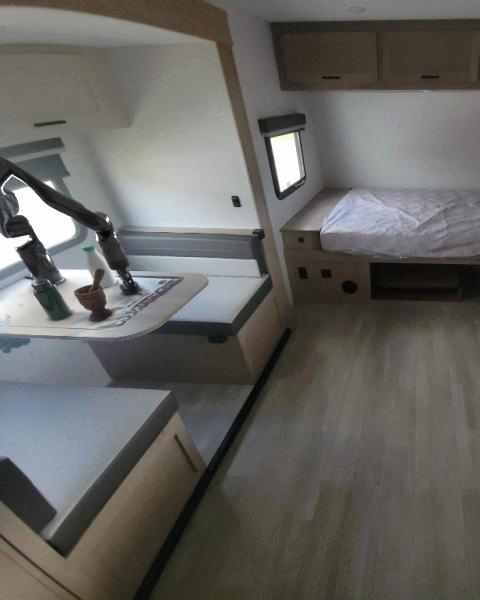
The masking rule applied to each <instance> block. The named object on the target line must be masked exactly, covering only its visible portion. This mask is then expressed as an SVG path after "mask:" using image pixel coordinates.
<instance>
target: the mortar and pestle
mask: <svg viewBox="0 0 480 600" xmlns="http://www.w3.org/2000/svg"><path fill="white" fill-rule="evenodd" d="M104 273H105V270H104V269H100V268H97V269H96V271H95V274H94V279H92V280H93V282H92V284H87V285H83V286H81V287H78V288H76V289H74V291H73V294H74V295H75V297H76V299H77V301H78V302H79V304H80V305H81V306H82V308H84V309H85V310H86V311H87V310H88V311H90V312H91V313H90V314H89V319H90V321H95V322H96V321H97V322H98V321H103V320H105V319H107V318H109V317H111V316H112V315H113V311H112V310H111V309H110V308H106V305H107V304H108V301H107V296H106V293H105V291H104V289H103V288H102V286H101V285H100V282H101V280H102V278H103V276H104Z"/></svg>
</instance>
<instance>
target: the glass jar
mask: <svg viewBox="0 0 480 600" xmlns="http://www.w3.org/2000/svg"><path fill="white" fill-rule="evenodd" d="M30 287H31V288H32V289H33V290H32V291H31V293H32V294H33V296H34V298H35V299H36V300H37V302H38V303H39V305H40V307H41V308H42V310H43V311H44V312H45V315H47V317H48V319H49V320H50V321H59V320H63V319H66V318H68V317H70V316H71V315H72V314H73V312H72V310H71V309H70V306H69V305H68V303H67V302H66V300H65V298H64V297H63V296H62V294H61V292H60V290H59V289H58V287H57V285H51V283H50V281H49V280H47V279H43V280H38V281H35V280H34V281H33V282H31V284H30Z"/></svg>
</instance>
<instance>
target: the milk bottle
mask: <svg viewBox="0 0 480 600" xmlns="http://www.w3.org/2000/svg"><path fill="white" fill-rule="evenodd" d="M81 249H82V252H83V253H84V254H85V266H86V268H87V269H88V272H89V274H90V275H91V277H92V280H94V274H95V271H96V269H97V268H100V269H104V270H105V273H104V276H103V278H102V280H101V282H100V285H101V286H102V289H103V288H109V287H112V286H114V285H116V284H117V278H116V275H115V274H114V272H113V270H111V269H110V268H109V266H108V264H107V262H106V260H105V258H104V256H103V255H101V254H100V253H99V252H98V251H97V247H96V245H94V244H86V245H82V246H81Z"/></svg>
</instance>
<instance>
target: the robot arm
mask: <svg viewBox="0 0 480 600" xmlns="http://www.w3.org/2000/svg"><path fill="white" fill-rule="evenodd" d="M11 177H14V178H16V179H17V180H19V181H21V182H22V183H24V184H25V185H26V186H27V187H28V188H29V189H30V190H31V191H32V192H33V193H34V194H35V195H36V196H37V197H38V199H39V200H40V201H41V202H42V203H43V204H45V205H46V206H47V207H49V208H50V209H52V210H54V211H56V212H58V213H60V214H61V215H64V216H66V217H68V218H71V219H72V220H74V221H76V222H77V223H79V224H80V225H82V226H83V227H85V228H87V229H89V230H91V231H93V232H94V233H95V236H96V241H97V244H98V247H99V248H100V250H101V253H102V256H103V257H104V258H105V260H106V262H107V264H108V266H109V268H110V269H111V270H112V271H115V272H116V274H117V276H118V278H119V279H120V281H121V282H122V284H124V283H126V284H127V286H128V287H129V290H130V292H131V293H133V292H136V291H137V290H136V288H135V286H134V284H135V283H134V281H135V280H134V278H133V276H132V274H131V272H130V271H129V269H127V268H129V267H130V266H131V263H130V261H129V258H128V256H127V254H126V251H125V250H124V248H123V247H122V245H121V242H120V240H119V238H118V237H117V234H116V230H115V228H114V225H113V222H112V220H111V218H110V217H109V215H108V214H106V213H105V212H103V211H99V210H98V211H97V210H96V211H91V210H90V209H88V208H87V207H86V206H85V205H84V204H83V203H81V202H80V201H78V200H76V199H74V198H72V197H70V196H68V195H66V194H65V193H62V192H60V191H58V190H57V189H55V188H53V187H51V186H50V185H48V184H47V183H46V182H44V181H42V180H41V179H39V178H38V177H36V176H34V175H33V174H31V173H30V172H29V171H27V170H26V169H23V168H22V167H20V166H19V165H18V164H16V163H14V162H12V161H11V160H9V159H8V158H7V157H4V156H2V155H0V235H1V237H3V238H5V239H10V240H11V239H17V238H22V237H26V238H25V239H24V240H23V241H21V242H19V243H18V244H17V243H16V245H15V246H14V251H16V253H17V255H18V256H19V258H20V259H21V261H22V262H23V264H24V266H25V267H26V269H27V270H28V272H29V273H30V276H29V275H27V274H25V275H24V277H25V278H28V279H33V280H34V282H35V281H38V280H43V279H47V280H49V281H50V283H51V285H55V286H57V285H59V284H60V283H62V282H64V281H65V278H64V276H63V275H62V273H61V270H60V269H59V268H58V266H57V265H56V264H55V261H54V260H53V258H52V257H51V255H50V253H49V252H48V250H47V248H46V247H45V245H44V243H43V242H42V240H41V238H40V237H39V234H38V233H37V231H36V229H35V226H34V224H33V222H32V221H31V220H30V218H29V217H28V216H26V215H25V214H23V213H20V212H21V210H22V205H21V202H20V199H19V198H18V195H17V194H16V193H15V192H14V191H12V190H10V189H8V188H5V187H4V185H5V183H7V182H8V181H9V180H10V178H11ZM129 282H131V283H129Z"/></svg>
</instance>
